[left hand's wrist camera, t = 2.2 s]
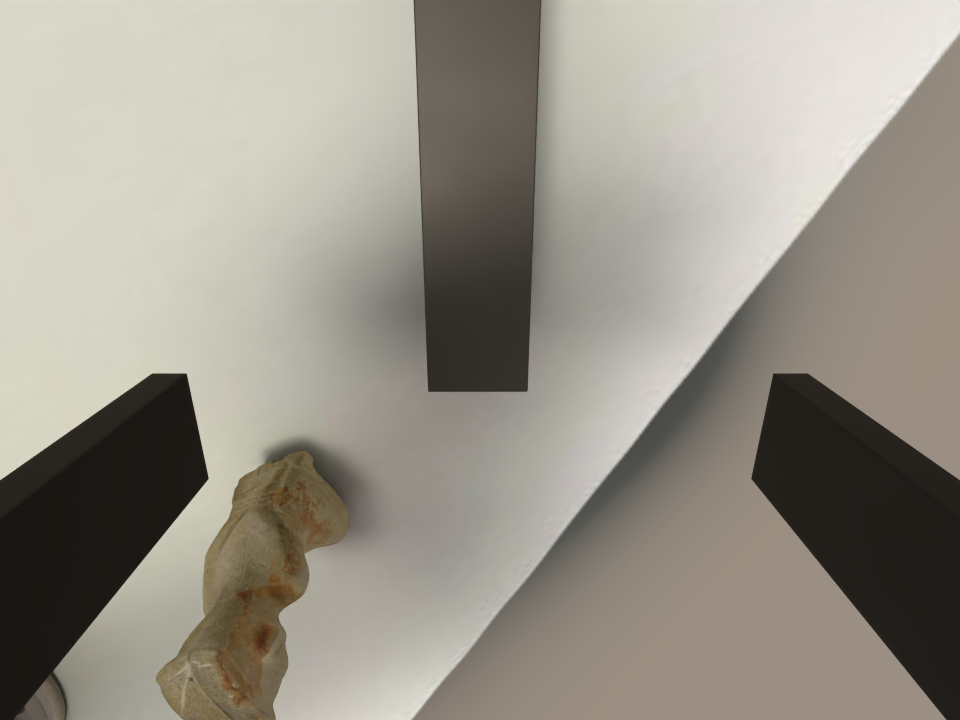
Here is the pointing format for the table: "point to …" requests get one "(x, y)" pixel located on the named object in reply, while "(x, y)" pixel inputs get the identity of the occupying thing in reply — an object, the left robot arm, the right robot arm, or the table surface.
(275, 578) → the sculpture
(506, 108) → the bar
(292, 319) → the table surface
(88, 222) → the table surface
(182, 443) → the left robot arm
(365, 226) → the table surface
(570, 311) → the table surface
